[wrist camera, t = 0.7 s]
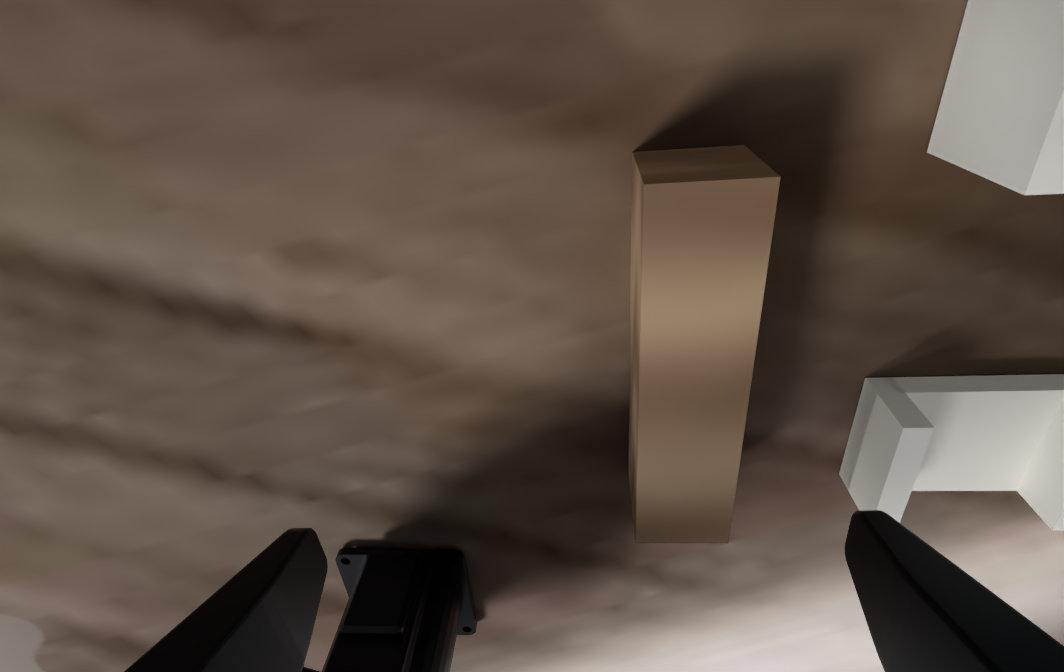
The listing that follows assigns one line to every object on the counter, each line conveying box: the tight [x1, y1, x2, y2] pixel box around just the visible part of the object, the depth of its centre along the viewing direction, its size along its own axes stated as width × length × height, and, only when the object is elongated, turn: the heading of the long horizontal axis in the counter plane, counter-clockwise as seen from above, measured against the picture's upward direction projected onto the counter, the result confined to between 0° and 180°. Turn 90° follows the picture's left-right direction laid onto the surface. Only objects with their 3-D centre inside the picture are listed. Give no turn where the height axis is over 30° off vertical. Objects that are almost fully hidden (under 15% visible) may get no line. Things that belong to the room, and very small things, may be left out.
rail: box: [628, 145, 781, 543], centre depth 20 cm, size 14×4×4 cm, turn 4°
